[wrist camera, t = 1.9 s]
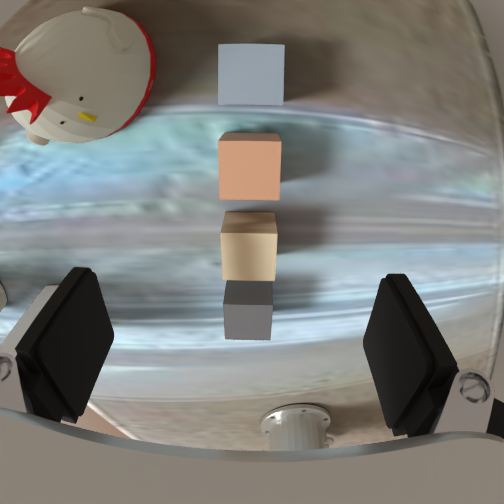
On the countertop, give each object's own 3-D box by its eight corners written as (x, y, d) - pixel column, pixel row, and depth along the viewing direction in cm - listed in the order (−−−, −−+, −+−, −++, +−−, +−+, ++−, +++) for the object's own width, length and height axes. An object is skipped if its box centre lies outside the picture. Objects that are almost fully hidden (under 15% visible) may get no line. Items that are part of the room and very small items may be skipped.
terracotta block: (277, 133, 29) (281, 141, 24) (275, 183, 31) (279, 200, 27) (224, 132, 29) (218, 140, 24) (225, 182, 31) (219, 199, 27)
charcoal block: (271, 277, 36) (272, 305, 32) (269, 311, 39) (270, 340, 35) (227, 276, 36) (223, 304, 32) (228, 310, 39) (225, 339, 35)
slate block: (280, 52, 25) (284, 44, 20) (279, 102, 27) (283, 105, 23) (224, 51, 25) (218, 44, 20) (224, 102, 27) (218, 104, 23)
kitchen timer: (91, 164, 30) (2, 224, 17) (23, 85, 25) (-76, 107, 12) (184, 70, 26) (120, 59, 12) (103, -11, 20) (13, -49, 7)
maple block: (274, 212, 33) (277, 233, 28) (272, 254, 35) (274, 281, 31) (225, 211, 33) (220, 233, 28) (226, 254, 35) (222, 280, 31)
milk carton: (84, 282, 37) (13, 395, 21) (102, 323, 41) (50, 435, 24) (46, 284, 38) (-25, 383, 21) (65, 323, 41) (10, 422, 25)
